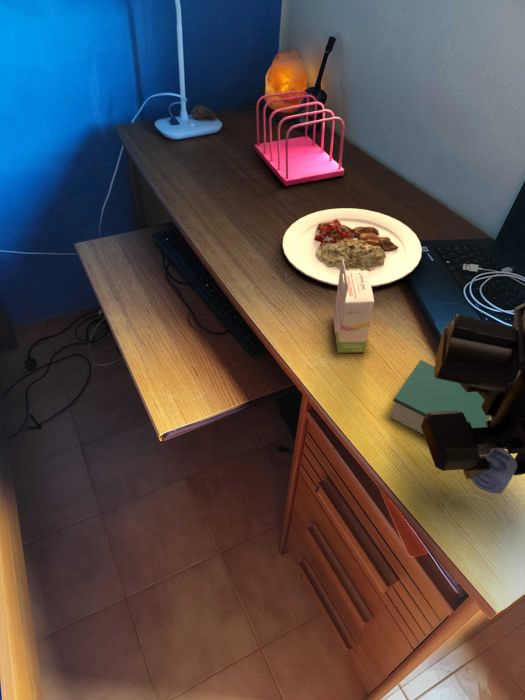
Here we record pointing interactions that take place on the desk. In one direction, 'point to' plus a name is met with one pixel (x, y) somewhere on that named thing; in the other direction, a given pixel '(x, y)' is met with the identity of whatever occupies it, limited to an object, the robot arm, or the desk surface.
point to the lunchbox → (434, 399)
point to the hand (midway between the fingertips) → (490, 473)
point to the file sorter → (299, 146)
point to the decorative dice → (496, 472)
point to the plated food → (352, 245)
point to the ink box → (352, 310)
